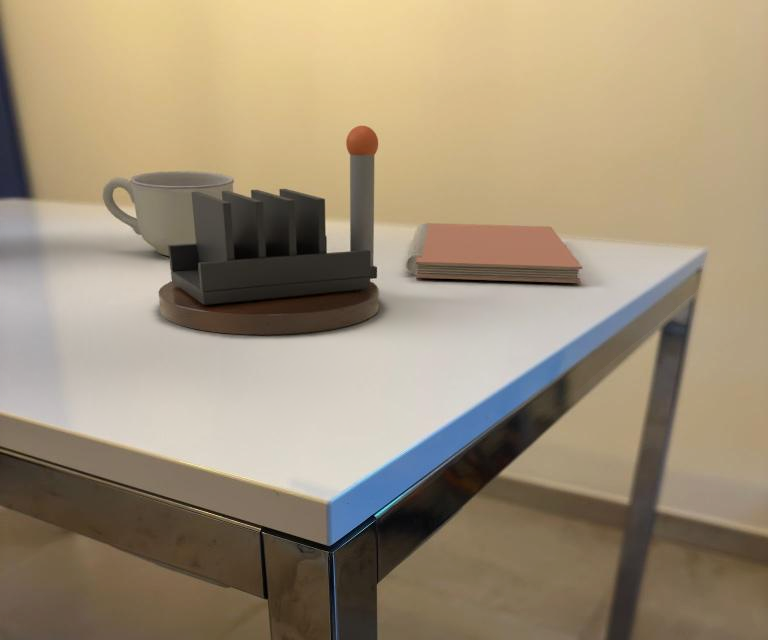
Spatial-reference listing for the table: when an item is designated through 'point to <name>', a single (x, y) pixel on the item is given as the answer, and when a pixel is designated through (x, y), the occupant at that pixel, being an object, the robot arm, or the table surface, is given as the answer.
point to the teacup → (165, 204)
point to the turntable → (270, 312)
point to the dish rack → (279, 240)
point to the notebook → (491, 253)
